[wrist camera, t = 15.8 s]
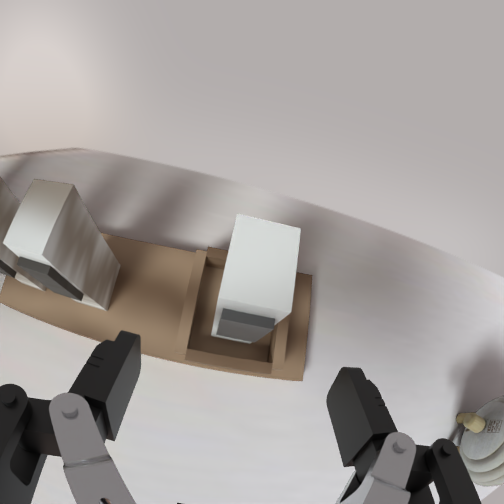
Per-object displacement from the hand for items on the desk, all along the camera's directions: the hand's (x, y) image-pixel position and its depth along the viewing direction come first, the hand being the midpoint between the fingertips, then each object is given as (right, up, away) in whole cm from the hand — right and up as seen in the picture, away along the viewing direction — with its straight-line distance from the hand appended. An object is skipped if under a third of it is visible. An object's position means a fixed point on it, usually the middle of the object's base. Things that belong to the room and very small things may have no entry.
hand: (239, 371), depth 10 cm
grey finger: (-1, 0, +12) cm, 12 cm away
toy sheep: (+26, -17, +11) cm, 33 cm away
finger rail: (-9, +1, +12) cm, 15 cm away
